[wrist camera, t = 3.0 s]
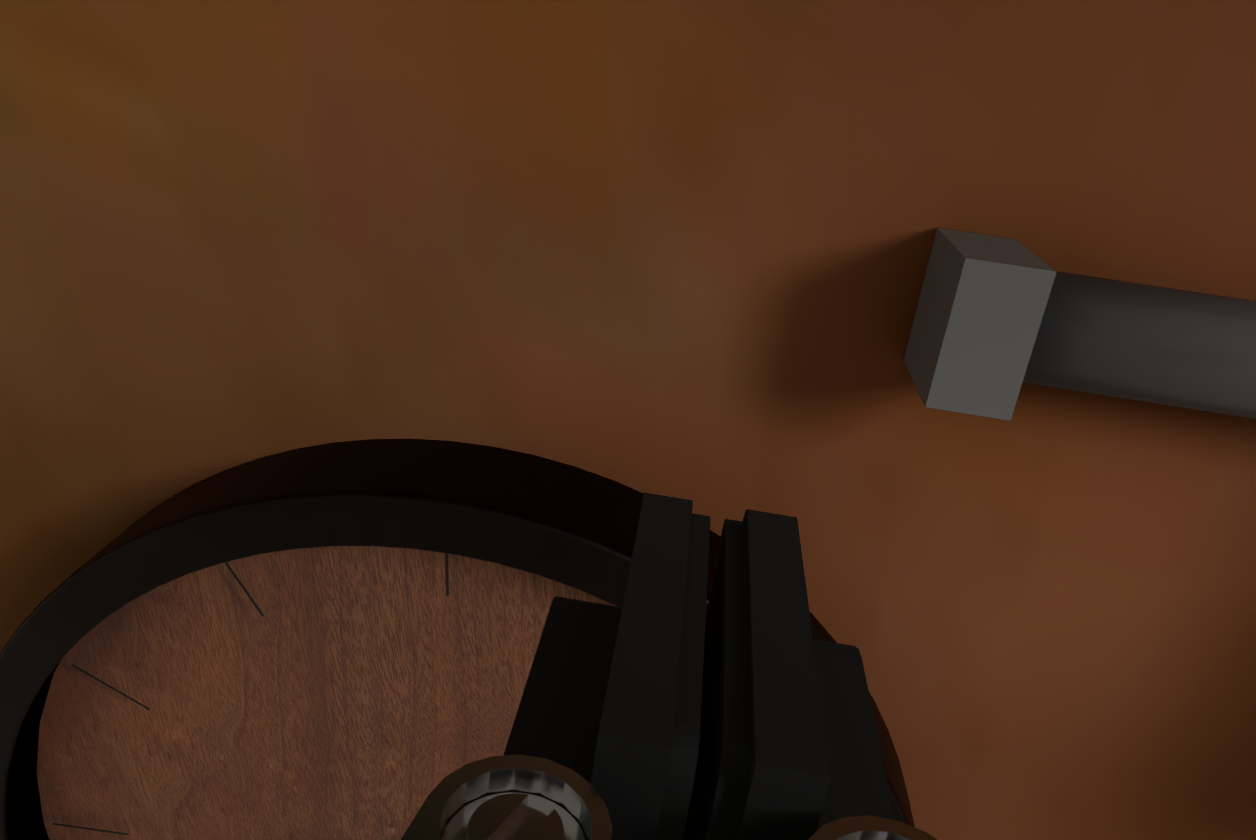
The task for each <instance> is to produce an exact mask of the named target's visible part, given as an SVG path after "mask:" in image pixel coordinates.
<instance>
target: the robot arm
mask: <svg viewBox="0 0 1256 840" xmlns="http://www.w3.org/2000/svg"><path fill="white" fill-rule="evenodd" d="M692 505H693V501H692V500H686V499H680V498H674V497H668V496H661V495H655V494H649V493H644V497H643V502H642V507H641V513H640V518H639V523H638V528H637V534H636V539H635V544H634V549H633V554H632V560H631V565H630V570H629V575H628V581H627V586H626V591H625V596H624V601H623V607H618V606H612V605H606V604H600V603H594V602H588V601H582V600H576V599H570V598H564V597H558V596H555V597H554V598H553V601H552V604H551V606H550V609H549V613H548V616H547V619H546V622H545V625H544V628H543V632H542V635H541V638H540V641H539V644H538V647H537V651H536V654H535V657H534V660H533V663H532V666H531V669H530V673H529V676H528V679H527V682H526V685H525V688H524V692H523V695H522V698H521V701H520V704H519V707H518V711H517V714H516V717H515V720H514V723H513V726H512V730H511V733H510V736H509V739H508V742H507V745H506V749H505V752H504V755H503V756H492V757H488V758H485V759H481V760H478V761H475V762H471V763H468V764H466V765H464V766H462V767H461V768H459V769H457V770H456V771H454V772H452V773H451V774H449V775H448V776H446V777H444V778H443V780H442V781H441V782H440V783H439V784H438V785H437V786H436V787H435V789H434V790H433V791H432V792H431V793H430V794H429V795H428V797H427V798H426V800H425V801H424V803H423V805H422V806H421V808H420V809H419V811H418V813H417V814H416V816H415V818H414V819H413V821H412V822H411V824H410V826H409V827H408V829H407V830H406V832H405V834H404V835H403V837H402V838H401V840H937V839H936V838H934V837H933V836H931V835H930V834H928V833H927V832H925V831H922V830H920V829H917V828H915V827H912V826H910V825H907V824H905V823H902V822H900V821H897V820H895V819H894V814H893V810H892V805H891V800H890V795H889V790H888V785H887V780H886V775H885V770H884V765H883V761H882V756H881V751H880V746H879V741H878V736H877V731H876V726H875V721H874V716H873V711H872V707H871V702H870V697H869V692H868V687H867V682H866V677H865V672H864V667H863V662H862V658H861V655H860V652H859V649H858V648H856V647H855V646H850V645H844V644H838V643H833V642H827V641H821V640H815V639H813V636H812V629H811V621H810V613H809V606H808V598H807V590H806V583H805V575H804V567H803V560H802V552H801V544H800V537H799V529H798V521H797V518H796V517H791V516H785V515H779V514H772V513H766V512H760V511H754V510H748V509H746V511H745V514H744V518H743V522H741V521H735V520H728V519H725V521H724V525H723V530H722V535H721V540H720V545H719V550H718V556H717V561H716V566H715V571H714V577H713V582H712V587H711V592H710V598H709V603H708V608H707V613H706V598H707V576H708V555H709V534H710V516H704V515H698V514H692Z"/></svg>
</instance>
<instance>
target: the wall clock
mask: <svg viewBox="0 0 1256 840" xmlns="http://www.w3.org/2000/svg"><path fill="white" fill-rule="evenodd" d="M643 497H644V494H643V493H641V492H639V491H636V490H634V489H632V488H630V487H627V486H625V485H623V484H620V483H618V482H616V481H613V480H611V479H608V478H605V477H602V476H600V475H597V474H594V473H591V472H588V471H586V470H583V469H580V468H577V467H574V466H571V465H567V464H564V463H560V462H557V461H553V460H549V459H546V458H542V457H539V456H535V455H531V454H526V453H521V452H516V451H511V450H506V449H502V448H497V447H491V446H484V445H476V444H469V443H461V442H454V441H439V440H423V439H370V440H359V441H348V442H337V443H329V444H323V445H317V446H311V447H305V448H299V449H294V450H290V451H286V452H282V453H278V454H274V455H270V456H267V457H263V458H259V459H256V460H253V461H250V462H247V463H244V464H242V465H239V466H236V467H233V468H230V469H227V470H225V471H222V472H220V473H218V474H216V475H214V476H211V477H209V478H207V479H205V480H202V481H200V482H198V483H196V484H194V485H192V486H190V487H188V488H187V489H185V490H183V491H181V492H180V493H178V494H176V495H174V496H173V497H171V498H169V499H167V500H166V501H164V502H163V503H161V504H160V505H158V506H157V507H156V508H154V509H153V510H151V511H150V512H148V513H147V514H146V515H144V516H143V517H141V518H140V519H139V520H137V521H136V522H135V523H134V524H132V525H131V526H130V527H129V528H127V529H126V530H125V531H124V532H123V533H121V534H120V535H119V536H118V537H117V538H115V539H114V540H113V541H112V542H111V543H109V544H108V545H107V546H106V547H104V548H103V549H102V550H101V551H100V552H98V553H97V554H96V555H95V556H94V557H92V558H91V559H90V560H89V561H88V562H86V563H85V564H84V565H83V566H81V567H80V568H79V569H78V570H77V571H75V572H74V573H73V574H72V575H71V576H70V577H69V578H67V579H66V580H65V581H64V582H63V583H62V584H60V585H59V586H58V587H57V588H56V589H55V590H54V591H52V592H51V593H50V594H49V595H48V596H47V597H46V598H45V599H44V600H43V601H42V602H41V603H40V604H39V605H38V606H37V607H36V608H35V609H34V610H33V612H32V613H31V614H30V615H29V616H28V617H27V618H26V619H25V620H24V621H23V622H22V623H21V625H20V626H19V627H18V629H17V630H16V631H15V633H14V634H13V635H12V637H11V638H10V640H9V641H8V642H7V644H6V645H5V646H4V648H3V649H2V651H1V653H0V840H401V838H402V837H403V835H404V834H405V832H406V830H407V829H408V827H409V826H410V824H411V822H412V821H413V819H414V818H415V816H416V814H417V813H418V811H419V809H420V808H421V806H422V805H423V803H424V801H425V800H426V798H427V797H428V795H429V794H430V793H431V792H432V791H433V790H434V789H435V787H436V786H437V785H438V784H439V783H440V782H441V781H442V780H443V778H444V777H446V776H448V775H449V774H451V773H452V772H454V771H456V770H457V769H459V768H461V767H462V766H464V765H466V764H468V763H471V762H475V761H478V760H481V759H485V758H488V757H492V756H503V755H504V752H505V749H506V745H507V742H508V739H509V736H510V733H511V730H512V726H513V723H514V720H515V717H516V714H517V711H518V707H519V704H520V701H521V698H522V695H523V692H524V688H525V685H526V682H527V679H528V676H529V673H530V669H531V666H532V663H533V660H534V657H535V654H536V651H537V647H538V644H539V641H540V638H541V635H542V632H543V628H544V625H545V622H546V619H547V616H548V613H549V609H550V606H551V604H552V601H553V598H554V597H555V596H558V597H564V598H570V599H576V600H582V601H588V602H594V603H600V604H606V605H612V606H618V607H623V601H624V596H625V591H626V586H627V581H628V575H629V570H630V565H631V560H632V554H633V549H634V544H635V539H636V534H637V528H638V523H639V518H640V513H641V507H642V502H643ZM720 540H721V537H720V536H719V535H717V534H716V533H714V532H712V531H711V530H710V534H709V555H708V576H707V598H706V613H707V608H708V603H709V598H710V592H711V587H712V582H713V577H714V571H715V566H716V561H717V556H718V550H719V545H720ZM809 613H810V621H811V629H812V636H813V639H815V640H821V641H827V642H833V643H836V641H835V640H834V639H833V638H832V637H831V635H830V634H829V633H828V632H827V631H826V630H825V628H824V627H823V626H822V625H821V624H820V623H819V621H818V620H817V619H816V618H815V617H814V615H813V614H812V613H811V612H810V611H809ZM868 692H869V691H868ZM869 697H870V702H871V707H872V711H873V716H874V721H875V726H876V731H877V736H878V741H879V746H880V751H881V756H882V761H883V765H884V770H885V775H886V780H887V785H888V790H889V795H890V800H891V805H892V810H893V814H894V819H895V820H897V821H900V822H902V823H905V824H907V825H910V826H912V827H914V822H913V817H912V813H911V808H910V803H909V799H908V794H907V790H906V786H905V782H904V778H903V774H902V770H901V766H900V762H899V759H898V756H897V753H896V751H895V748H894V745H893V742H892V739H891V737H890V734H889V731H888V729H887V727H886V725H885V722H884V720H883V718H882V716H881V714H880V712H879V710H878V708H877V705H876V703H875V701H874V699H873V698H872V696H871V694H870V693H869Z"/></svg>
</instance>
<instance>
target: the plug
mask: <svg viewBox="0 0 1256 840" xmlns="http://www.w3.org/2000/svg"><path fill="white" fill-rule="evenodd" d="M903 361H904V363H905V365H906V367H907V369H908V371H909V374H910V376H911V378H912V380H913V382H914V384H915V386H916V388H917V390H918V393H919V395H920V397H921V399H922V401H923V403H924V405H925V407H928V408H935V409H941V410H947V411H953V412H960V413H966V414H972V415H979V416H985V417H991V418H998V419H1004V420H1010V421H1011V418H1012V414H1013V411H1014V408H1015V405H1016V402H1017V398H1018V395H1019V392H1020V389H1021V385H1022V383H1027V384H1034V385H1040V386H1047V387H1053V388H1059V389H1066V390H1072V391H1079V392H1085V393H1091V394H1098V395H1104V396H1111V397H1117V398H1123V399H1130V400H1136V401H1143V402H1149V403H1155V404H1162V405H1168V406H1175V407H1181V408H1187V409H1194V410H1200V411H1207V412H1213V413H1219V414H1226V415H1232V416H1239V417H1245V418H1251V419H1256V301H1250V300H1243V299H1237V298H1230V297H1223V296H1217V295H1210V294H1204V293H1197V292H1190V291H1184V290H1177V289H1170V288H1164V287H1157V286H1150V285H1144V284H1137V283H1130V282H1124V281H1117V280H1110V279H1104V278H1097V277H1090V276H1084V275H1077V274H1070V273H1064V272H1057V271H1055V270H1054V269H1053V268H1052V267H1050V266H1049V265H1048V264H1047V263H1045V262H1044V261H1043V260H1042V259H1040V258H1039V257H1038V256H1037V255H1035V254H1034V253H1033V252H1032V251H1030V250H1029V249H1028V248H1027V247H1025V246H1024V245H1023V244H1022V243H1020V242H1019V241H1018V240H1017V239H1010V238H1003V237H997V236H990V235H983V234H977V233H970V232H963V231H956V230H950V229H943V228H937V230H936V234H935V238H934V242H933V246H932V250H931V254H930V257H929V261H928V265H927V269H926V273H925V277H924V281H923V285H922V289H921V293H920V297H919V301H918V304H917V308H916V312H915V316H914V320H913V324H912V328H911V332H910V336H909V340H908V344H907V348H906V351H905V355H904V359H903Z"/></svg>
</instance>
